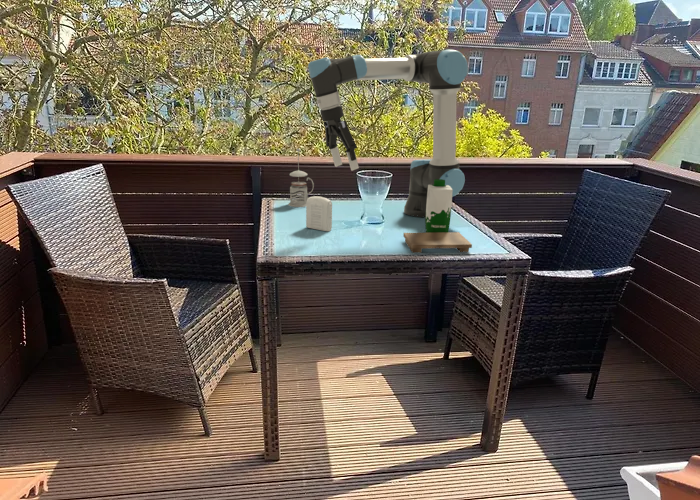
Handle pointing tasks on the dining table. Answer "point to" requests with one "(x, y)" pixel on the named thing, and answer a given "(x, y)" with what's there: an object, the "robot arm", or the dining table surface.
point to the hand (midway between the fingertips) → (346, 167)
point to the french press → (299, 188)
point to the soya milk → (438, 207)
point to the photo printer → (319, 213)
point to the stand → (436, 241)
